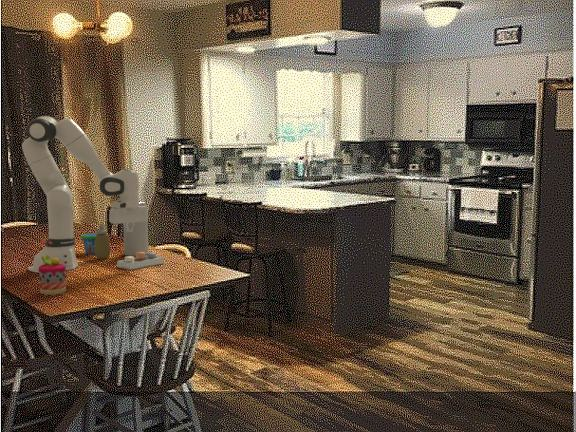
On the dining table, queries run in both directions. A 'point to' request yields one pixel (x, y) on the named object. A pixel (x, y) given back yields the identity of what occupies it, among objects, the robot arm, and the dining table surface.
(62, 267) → the cake
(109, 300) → the dining table surface
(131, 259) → the ivory button
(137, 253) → the terracotta button
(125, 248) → the cylinder vase
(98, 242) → the squeeze bottle
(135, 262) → the panel
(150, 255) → the slate button
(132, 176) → the robot arm
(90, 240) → the snack cup
